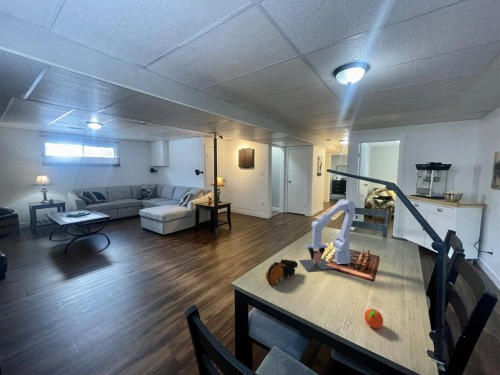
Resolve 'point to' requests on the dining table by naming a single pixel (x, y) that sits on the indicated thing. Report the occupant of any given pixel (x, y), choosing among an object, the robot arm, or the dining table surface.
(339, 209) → the robot arm
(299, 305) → the dining table surface
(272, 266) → the tool
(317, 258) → the collar
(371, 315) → the clementine
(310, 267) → the stand
